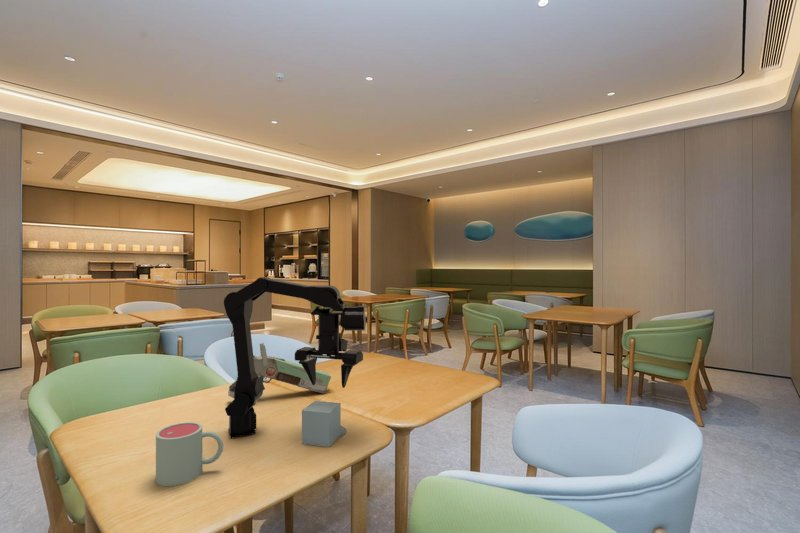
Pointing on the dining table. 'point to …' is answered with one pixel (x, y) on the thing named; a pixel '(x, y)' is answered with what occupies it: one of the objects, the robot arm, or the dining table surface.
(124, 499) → the dining table surface
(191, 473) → the mug
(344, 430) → the circle
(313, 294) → the robot arm
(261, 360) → the ray gun
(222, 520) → the dining table surface
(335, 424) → the gray-blue matte cube
